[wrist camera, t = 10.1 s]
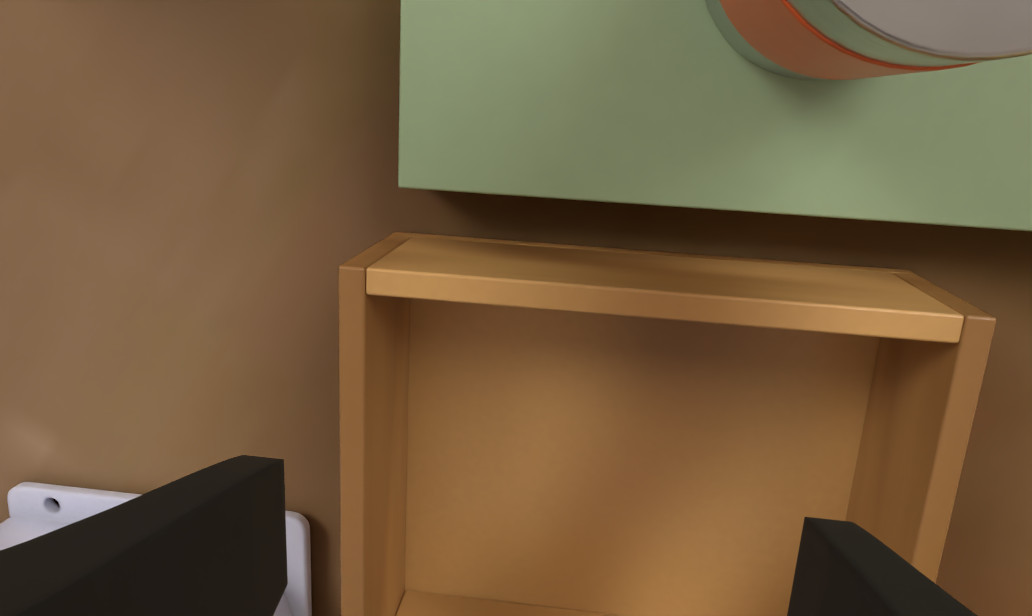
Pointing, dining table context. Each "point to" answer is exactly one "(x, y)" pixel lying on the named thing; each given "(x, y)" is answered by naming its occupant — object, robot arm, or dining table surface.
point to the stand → (697, 119)
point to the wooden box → (635, 424)
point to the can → (872, 34)
